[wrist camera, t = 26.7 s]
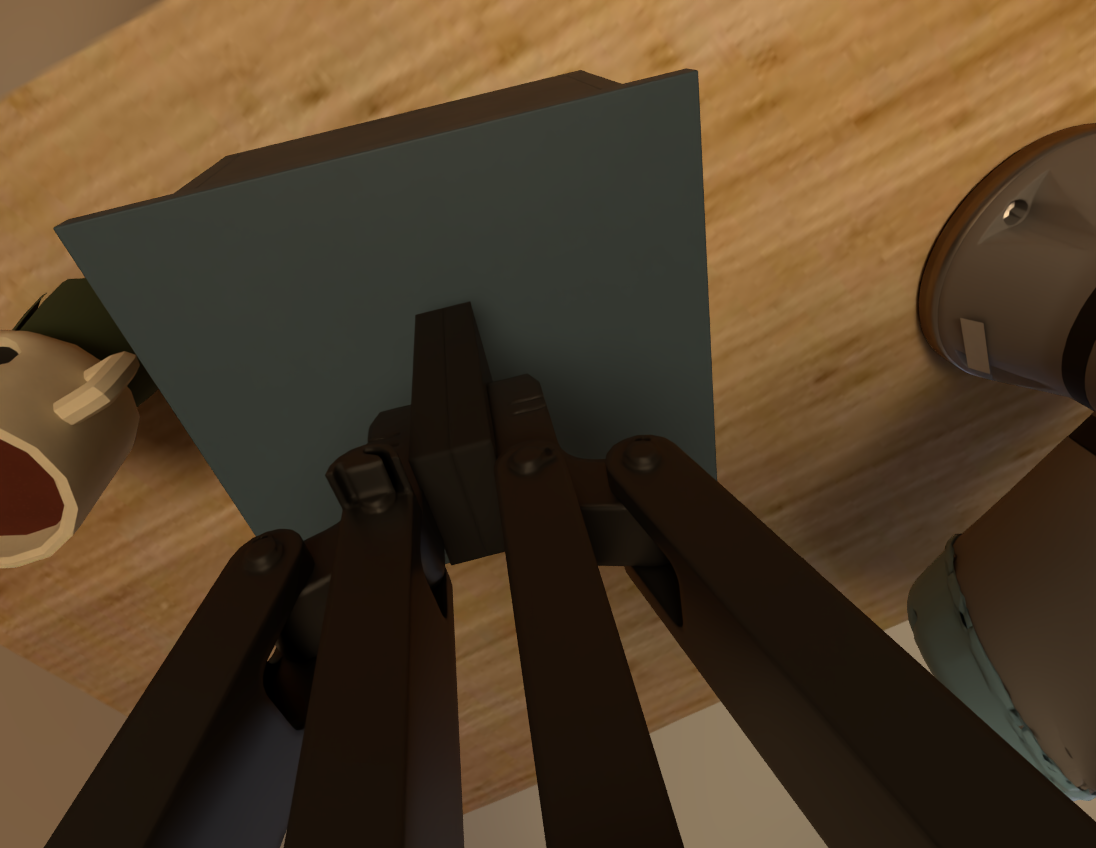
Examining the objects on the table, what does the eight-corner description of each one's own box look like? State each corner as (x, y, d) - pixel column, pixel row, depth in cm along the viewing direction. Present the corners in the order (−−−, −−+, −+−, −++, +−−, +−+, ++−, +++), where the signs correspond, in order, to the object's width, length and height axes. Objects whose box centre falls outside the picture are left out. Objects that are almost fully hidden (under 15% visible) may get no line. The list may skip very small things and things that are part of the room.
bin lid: (66, 219, 16) (51, 227, 15) (687, 67, 16) (698, 69, 16) (302, 587, 24) (299, 603, 24) (710, 478, 25) (718, 491, 24)
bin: (224, 156, 28) (88, 252, 16) (581, 69, 28) (689, 104, 17) (340, 404, 36) (303, 586, 24) (618, 333, 36) (709, 478, 25)
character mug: (142, 216, 29) (-25, 335, 18) (251, 335, 33) (168, 491, 22) (-35, 329, 30) (-287, 502, 19) (91, 430, 34) (-61, 620, 23)
